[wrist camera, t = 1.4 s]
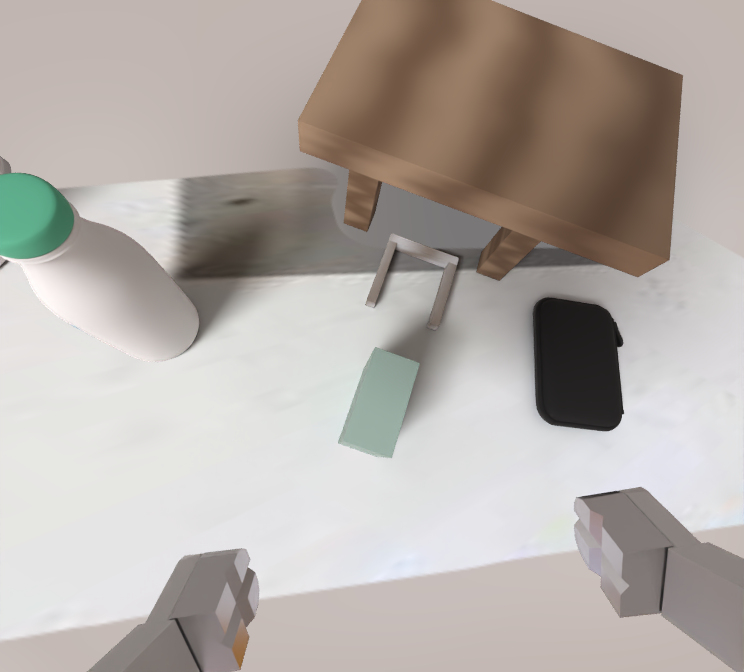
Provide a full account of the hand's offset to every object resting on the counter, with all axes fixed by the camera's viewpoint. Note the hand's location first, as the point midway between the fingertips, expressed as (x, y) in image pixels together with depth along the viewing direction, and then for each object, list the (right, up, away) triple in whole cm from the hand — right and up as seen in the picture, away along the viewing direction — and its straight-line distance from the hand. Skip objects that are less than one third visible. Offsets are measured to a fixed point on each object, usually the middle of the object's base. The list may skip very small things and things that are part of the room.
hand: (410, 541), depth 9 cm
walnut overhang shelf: (+4, +12, +35) cm, 37 cm away
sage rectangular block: (-1, -3, +29) cm, 30 cm away
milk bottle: (-23, +6, +29) cm, 38 cm away
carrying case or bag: (+22, +2, +35) cm, 41 cm away
